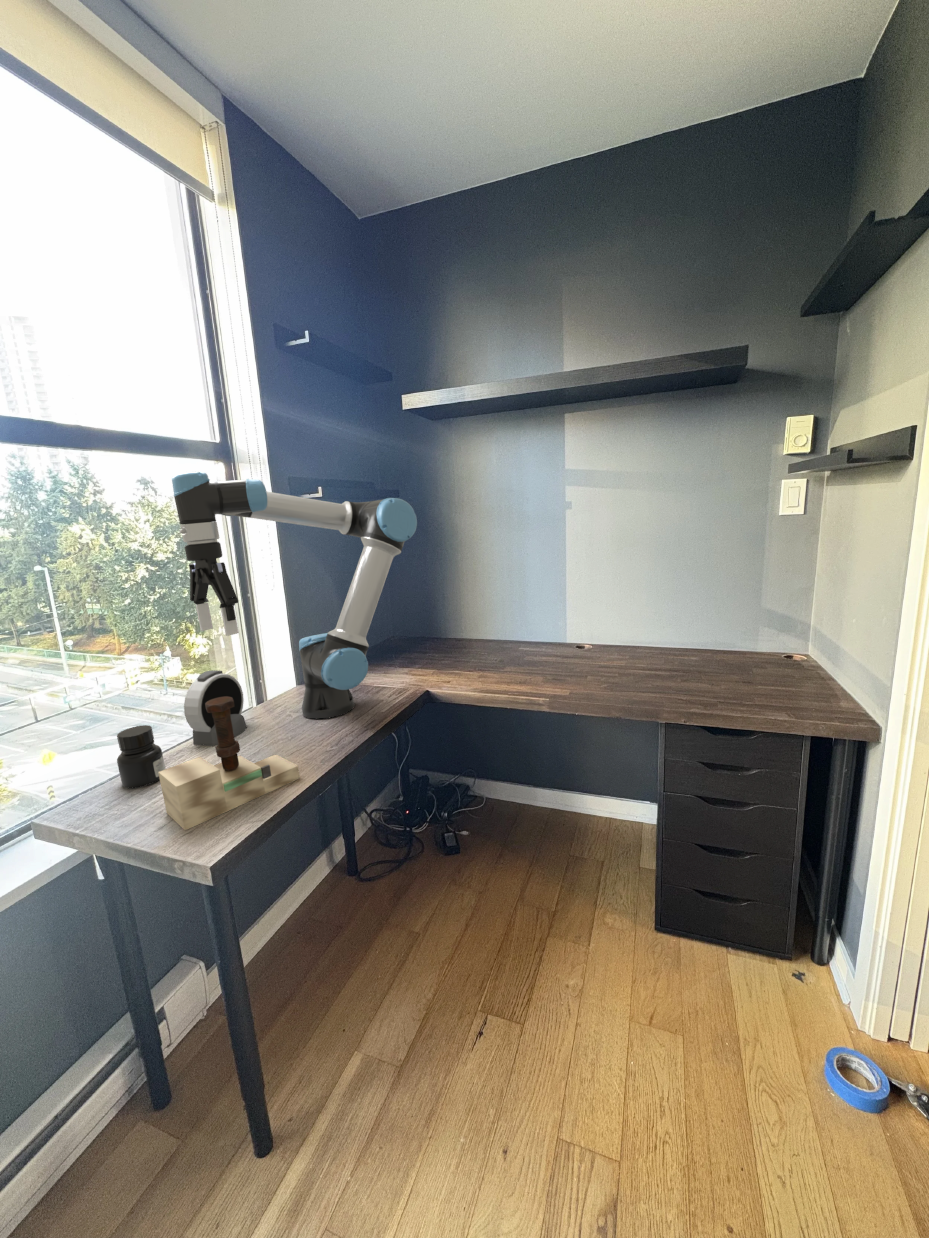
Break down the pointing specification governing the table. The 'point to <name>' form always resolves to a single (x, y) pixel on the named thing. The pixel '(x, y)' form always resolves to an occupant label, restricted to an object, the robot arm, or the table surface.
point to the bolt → (224, 731)
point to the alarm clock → (205, 690)
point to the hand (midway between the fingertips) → (219, 632)
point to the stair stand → (219, 786)
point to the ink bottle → (139, 757)
